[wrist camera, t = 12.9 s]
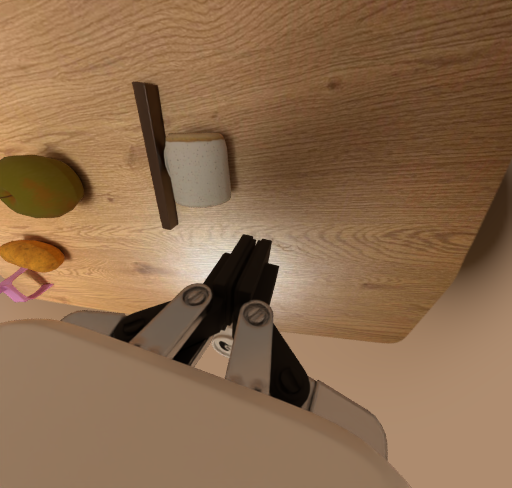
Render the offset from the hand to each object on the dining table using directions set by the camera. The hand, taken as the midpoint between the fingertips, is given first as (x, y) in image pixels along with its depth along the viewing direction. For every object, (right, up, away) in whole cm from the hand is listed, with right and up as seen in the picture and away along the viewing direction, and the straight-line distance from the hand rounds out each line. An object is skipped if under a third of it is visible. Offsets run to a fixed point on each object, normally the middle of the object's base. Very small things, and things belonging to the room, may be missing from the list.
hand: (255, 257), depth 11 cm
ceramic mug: (-8, +13, +17) cm, 23 cm away
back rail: (-14, +13, +19) cm, 27 cm away
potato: (-54, 0, +40) cm, 67 cm away
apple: (-34, +13, +25) cm, 44 cm away
